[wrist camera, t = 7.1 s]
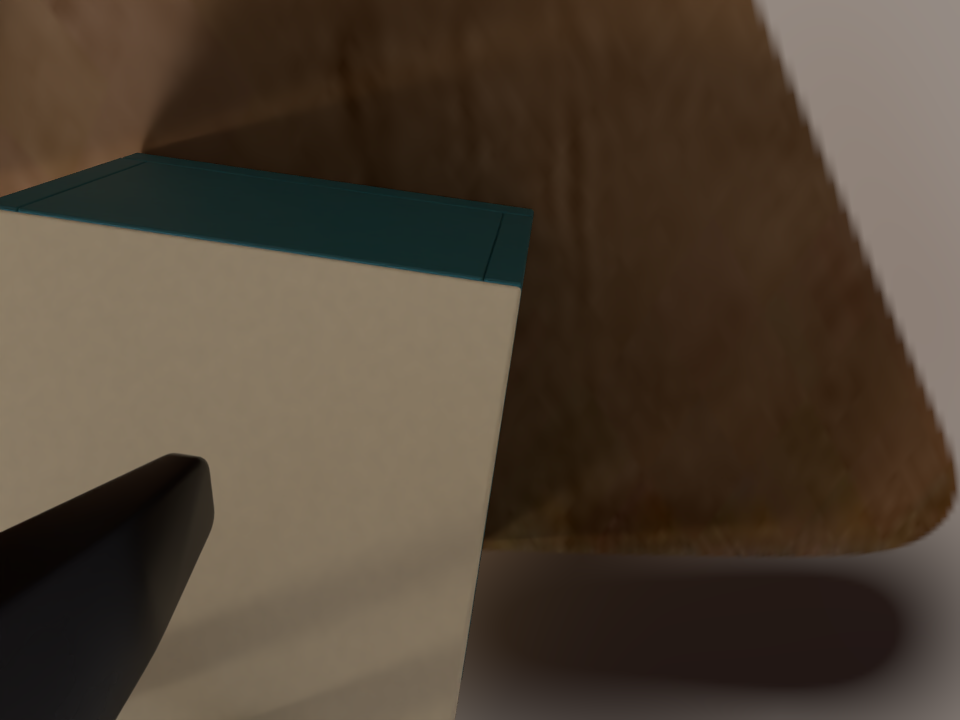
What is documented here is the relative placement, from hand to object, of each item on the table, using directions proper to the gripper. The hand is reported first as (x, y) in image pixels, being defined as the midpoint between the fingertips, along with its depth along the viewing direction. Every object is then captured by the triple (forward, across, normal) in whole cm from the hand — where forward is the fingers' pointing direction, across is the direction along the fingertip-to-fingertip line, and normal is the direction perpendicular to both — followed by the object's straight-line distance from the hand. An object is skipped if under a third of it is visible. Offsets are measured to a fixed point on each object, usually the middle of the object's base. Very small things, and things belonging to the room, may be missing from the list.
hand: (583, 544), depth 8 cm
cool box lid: (+3, +7, +5) cm, 9 cm away
